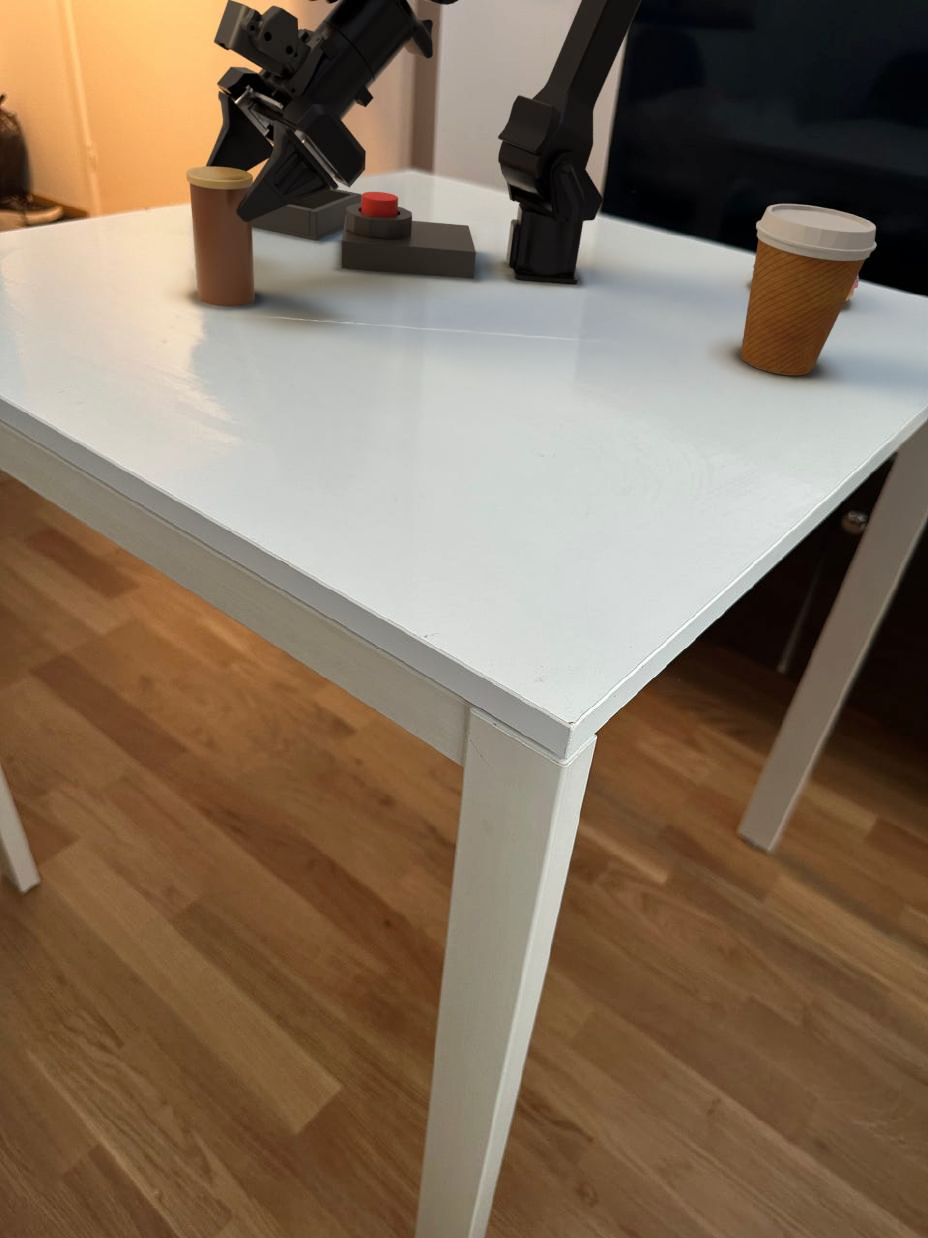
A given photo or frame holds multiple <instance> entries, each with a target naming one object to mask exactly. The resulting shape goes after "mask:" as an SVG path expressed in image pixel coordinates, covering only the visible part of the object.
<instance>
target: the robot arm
mask: <svg viewBox="0 0 928 1238" xmlns="http://www.w3.org/2000/svg"><path fill="white" fill-rule="evenodd" d="M308 1H309V2H316V1H318V0H308ZM458 1H459V0H423V2H428V3H433V4H436V5H437V4H438V5H442V6H449V5H453V4H455V3H456V2H458ZM641 1H642V0H581V1H580V4H579V5H578V7H577V10H576V13H575V15H574V17H573V20H572V22H571V24H570V27H569V30H568V32H567V34H566V37H565V39H564V41H563V43H562V46H561V48H560V50H559V52H558V56H557V58H556V60H555V62H554V65H553V68H552V70H551V72H550V75H549V77H548V80H547V81H546V83H545V85H544V86H543V87H542V88H541V89H540V90H539V91H538V92H537V93H536V94H535V95H534V96H533V97H532V98H530V97H527V96H524V95H521V94H519V95H517V96H516V98H515V100H514V101H513V103H512V106H511V110H510V113H509V117H508V120H507V123H506V124H505V126H504V128H503V130H502V131H501V132H500V133H499V135H498V136H497V139H498V140H499V141H501V144H500V147H499V151H498V155H497V156H498V157H497V162H498V164H499V167H500V171H501V174H502V176H503V178H504V181H506V185H507V193H508V196H509V200H510V201H512V202H516V203H518V208H517V215H516V219H515V218H514V219H512V220H511V221H510V226H509V235H508V244H507V251H506V263H507V265H508V266H507V267H509V269H510V270H511V272H512V275H513V278H514V279H516V280H522V281H535V282H547V283H559V284H572V285H574V284H576V285H577V284H578V282H579V278H578V275H577V274H576V269H577V263H578V257H579V252H580V251H579V249H580V245H581V238H582V232H583V228H584V227H583V226H584V222H587V221H589V222H591V221H594V220H595V219H596V217H597V214H598V212H599V211H600V207H601V206H602V203H603V200H604V199H603V196H602V194H601V192H600V191H599V190H598V188H597V186H596V185H595V182H594V181H593V179H592V177H591V176H590V174H589V172H588V171H587V167H588V163H589V160H590V157H591V153H592V150H593V147H594V110H595V107H596V104H597V101H598V99H599V97H600V94H601V93H602V89H603V88H604V85H605V83H606V81H607V78H608V77H609V73H610V72H611V70H612V67H613V65H614V63H615V60H616V58H617V57H618V53H619V52H620V49H621V47H622V44H623V42H624V40H625V38H626V35H627V33H628V31H629V29H630V27H631V25H632V22H633V20H634V17H635V16H636V13H637V10H638V8H639V6H640V4H641ZM324 2H325V3H326V4H328V5H329V4H331V5H332V4H335V3H336V2H337V3H336V4H335V5H334V6H333V8H332V9H331V10H330V11H329V12H328V14H327V15H326V16H325V17H324V18H323V20H322V21H321V22H320V23H319V24H318V26H317V27H316V28H315V29H314V30H312V29H307V28H299V18H298V17H297V16H295V15H293V14H292V13H290V12H289V11H287V10H286V9H285V8H283V7H280V6H277V5H271V6H269V8H268V9H266V10H265V11H264V12H263V13H262V14H261V13H260V11H258V10H257V9H255V8H253V7H252V8H251V7H250V6H248V5H246V4H244V3H241V2H238V1H236V0H235V1H234V0H227V2H226V5H225V8H224V11H223V13H222V16H221V20H220V22H219V25H218V28H217V31H216V33H215V37H214V39H213V43H214V44H216V45H217V46H219V47H220V48H222V49H224V50H225V51H232V52H234V53H235V54H237V55H239V56H241V57H243V58H244V59H245V60H247V61H249V62H251V63H253V65H256V66H257V67H259V68H261V69H260V70H259V72H256V71H254V70H252V69H250V68H248V67H245V66H230V67H229V68H228V69H227V71H225V73H224V74H223V75H222V76H221V78H220V79H219V80H218V81H217V82H216V85H217V87H218V88H219V90H218V94H217V98H218V101H219V102H220V107H221V114H222V115H221V116H222V125H221V128H220V130H219V133H218V136H217V138H216V140H215V142H214V145H213V148H212V150H211V153H210V155H209V156H208V159H207V161H206V165H205V166H204V167H227V168H234V169H239V170H243V171H246V172H248V171H250V170H252V169H253V168H255V167H257V166H259V165H260V164H262V163H264V162H265V161H266V162H265V163H264V165H263V166H262V168H261V170H260V171H259V172H258V174H257V175H256V177H255V178H254V179H253V183H252V185H251V186H250V188H249V189H248V191H247V192H246V194H245V196H244V197H243V199H242V201H241V202H240V204H239V206H238V208H237V209H236V214H237V215H238V216H239V217H240V218H241V219H242V220H243V221H244V222H249V221H251V220H254V219H256V218H258V217H261V216H263V215H265V214H268V213H270V212H273V211H275V210H277V209H280V208H282V207H285V206H287V205H290V204H292V203H294V202H297V201H300V200H302V199H305V198H308V197H311V196H313V195H316V194H319V193H322V192H324V191H327V190H333V191H334V190H336V189H339V187H340V186H339V184H338V183H337V182H339V183H340V184H342V185H344V186H346V187H347V188H349V189H350V188H351V187H352V185H354V183H355V182H356V181H357V180H358V179H359V177H361V175H362V174H363V173H364V172H365V171H366V158H367V157H366V156H367V151H366V150H365V148H364V147H363V146H362V144H360V142H359V141H358V139H357V138H356V137H355V136H354V134H353V133H352V132H351V131H350V129H349V128H348V127H347V125H346V124H345V123H344V121H343V120H344V118H345V117H346V116H347V115H348V113H349V112H350V111H351V110H352V109H353V108H354V106H355V105H359V106H361V107H364V108H367V107H368V105H369V104H370V103H371V102H372V100H374V98H375V97H374V95H373V94H372V93H371V92H370V90H369V89H370V88H371V87H372V85H374V83H375V82H376V81H377V79H379V77H380V76H381V75H382V74H383V73H384V71H385V70H387V68H388V67H389V65H391V63H393V61H394V60H395V59H396V58H397V56H398V55H399V54H400V53H401V51H402V50H403V49H405V50H406V52H407V53H409V54H411V55H413V56H417V57H421V58H424V59H427V60H429V59H432V57H433V56H434V43H433V37H432V36H433V35H432V33H433V26H434V21H433V20H432V19H430V18H426V17H422V16H418V15H417V14H416V12H415V10H414V9H413V7H412V6H411V5H410V3H409V2H408V0H324ZM336 181H337V182H336Z"/></svg>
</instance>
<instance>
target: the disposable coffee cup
mask: <svg viewBox="0 0 928 1238" xmlns="http://www.w3.org/2000/svg"><path fill="white" fill-rule="evenodd" d="M755 224H756V225H755V229H756V230H757V232H756V237H757V238H758V240H757V246H756V247H757V248H756V252H755V253H756V254H755V259H754V264H753V266H754V267H753V270H752V278H751V285H750V290H749V297H748V303H747V309H746V317H745V322H744V329H743V337H742V343H741V349H740V354H739V355H740V358H741V359H742V361H744V362H745V363H747V364H748V365H750V366H752V367H754V368H756V369H759V370H762V371H765V372H768V373H771V374H777V375H783V376H784V375H785V376H803V375H804V376H805V375H807V374H809V373H812V372H813V370H814V368H815V365H816V364H817V361H818V359H819V357H820V354H821V353H822V350H823V349H824V346H825V344H826V343H827V340H828V338H829V336H830V334H831V331H832V330H833V328H834V326H835V323H836V322H837V320H838V317H839V315H840V313H841V312H842V311H841V310H842V309H843V307H844V305H845V302H847V301H846V299H847V296H848V294H849V292H850V290H851V288H852V286H853V284H854V282H855V279H856V278H857V276H859V273H860V271H861V269H862V267H863V265H864V263H865V261H866V259H867V258H870V255H871V253H872V252H874V251H875V250H876V247H877V246H878V244H877V242H876V241H875V240H876V239H875V238H876V231H877V226H876V225H875V224H874V223H873V222H872V221H870V220H867V219H866V218H863V217H860V216H858V215H855V214H852V213H849V212H846V211H845V212H844V211H842V210H841V211H840V210H837V209H833V208H827V207H821V206H816V205H808V204H799V203H798V204H797V203H777V204H772V205H769V206H767V207H766V209H765V211H764V213H763V215H762V217H761V219H760V220H757V222H756V223H755Z"/></svg>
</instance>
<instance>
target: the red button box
mask: <svg viewBox="0 0 928 1238" xmlns="http://www.w3.org/2000/svg"><path fill="white" fill-rule="evenodd" d="M361 203H362V202H361ZM361 203H358V204H354V205H351V206H347V210H346V215H345V222H344V229H342V230H343V231H342V237H341V262H340V263H341V264H340V265H341V266H340V267H341V269H342V270H356V271H366V272H367V271H368V272H380V273H394V274H405V275H406V274H408V275H418V276H430V277H431V276H433V277H444V278H456V279H457V278H458V279H470V280H474V278H475V277H474V276H475V265H476V255H477V251H476V248H475V244H474V240H473V236H472V234H471V230H470V226H469V225H468V224H467V225H466V224H455V223H445V222H444V223H443V222H431V221H420V220H413V212H412V211H410V210H408V209H407V208H405V207H402V206H398V214H397V216H395V217H379V216H371V215H367V214H363V213H361Z"/></svg>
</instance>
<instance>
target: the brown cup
mask: <svg viewBox="0 0 928 1238" xmlns="http://www.w3.org/2000/svg"><path fill="white" fill-rule="evenodd" d="M185 176H186V181H187V182H188V183H189V194H190V195H189V196H190V208H191V220H192V222H191V223H192V234H193V247H194V261H195V262H194V263H195V274H196V275H195V276H196V290H197V298H198V300H199V301H201V302H202V303H205V304H208V305H212V306H217V307H241V306H245V305H248V304H251V303H253V302H254V301H255V298H256V296H255V269H254V267H255V266H254V242H253V241H254V240H253V239H254V238H253V227H252V220H251V221H249V222H244V221H243V220H242V219H241V218H240V217H239V216H238V215H237V214H236V209H237V208H238V206H239V204H240V202H241V201H242V199H243V197H244V196H245V194H246V192H247V191H248V189H249V188H250V186H251V185H252V183H253V182H254V176H253V174H252V173H250V172H248V171H247V172H246V171H243V170H239V169H234V168H227V167H205V166H198V167H193V168H189V169H187V170H186V173H185Z"/></svg>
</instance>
